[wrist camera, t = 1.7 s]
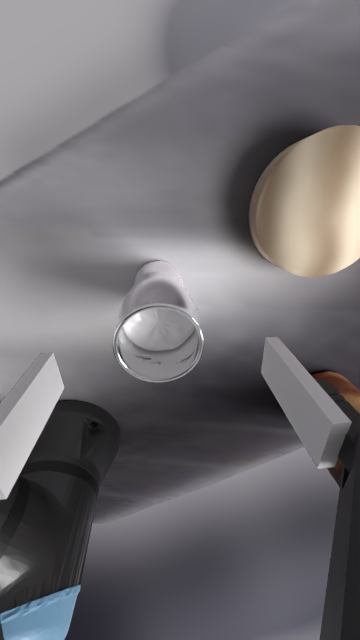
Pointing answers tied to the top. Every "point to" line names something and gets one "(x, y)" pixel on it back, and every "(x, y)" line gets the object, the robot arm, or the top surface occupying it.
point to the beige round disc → (310, 204)
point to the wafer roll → (351, 395)
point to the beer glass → (158, 326)
